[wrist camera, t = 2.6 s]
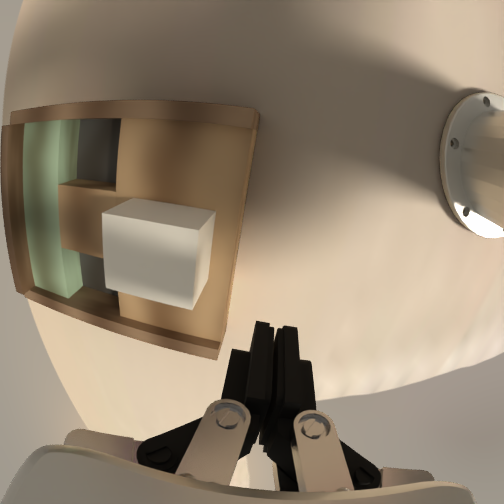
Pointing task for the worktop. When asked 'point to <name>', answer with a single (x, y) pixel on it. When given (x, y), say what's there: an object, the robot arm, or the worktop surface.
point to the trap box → (116, 192)
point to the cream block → (157, 250)
